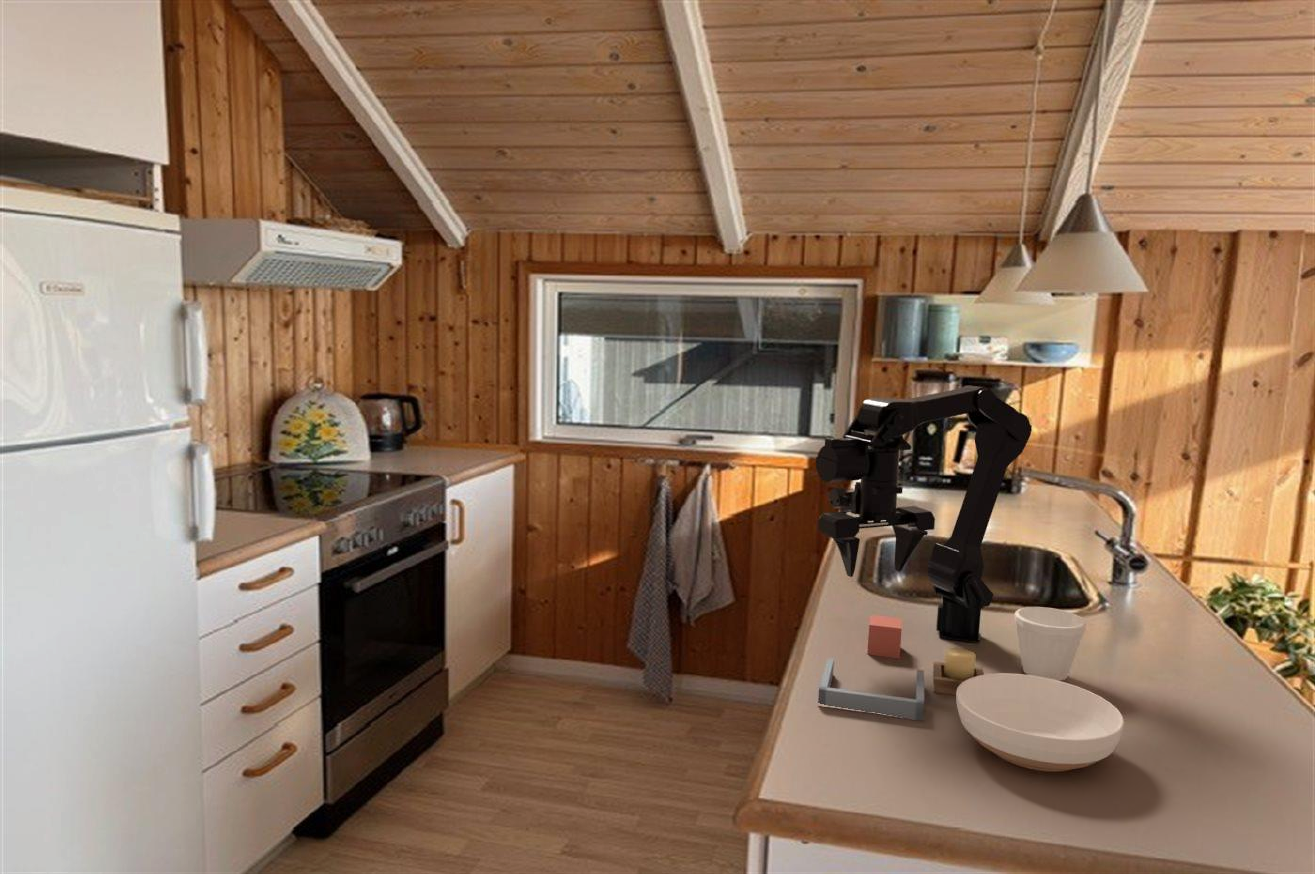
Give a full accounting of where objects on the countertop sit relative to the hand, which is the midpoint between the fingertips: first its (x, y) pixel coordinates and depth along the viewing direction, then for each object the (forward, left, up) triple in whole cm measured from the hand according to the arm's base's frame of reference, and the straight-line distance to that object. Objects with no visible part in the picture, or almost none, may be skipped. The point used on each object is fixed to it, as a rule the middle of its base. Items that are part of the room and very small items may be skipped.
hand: (874, 573), depth 148 cm
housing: (-13, +11, -13) cm, 22 cm away
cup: (-26, +2, -13) cm, 29 cm away
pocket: (-1, +19, -13) cm, 23 cm away
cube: (-2, 0, -13) cm, 13 cm away
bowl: (-22, +29, -13) cm, 38 cm away
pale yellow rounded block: (-13, +11, -11) cm, 21 cm away
